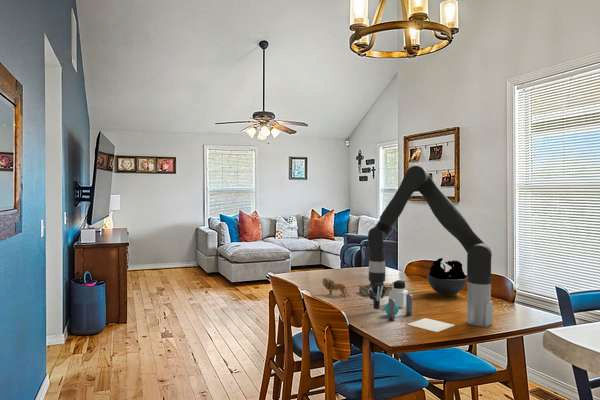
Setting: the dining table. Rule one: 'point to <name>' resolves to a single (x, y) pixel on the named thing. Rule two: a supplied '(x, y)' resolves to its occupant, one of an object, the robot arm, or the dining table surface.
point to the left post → (391, 310)
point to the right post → (409, 304)
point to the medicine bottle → (398, 293)
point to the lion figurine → (334, 286)
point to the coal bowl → (447, 278)
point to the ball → (388, 308)
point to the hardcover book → (364, 288)
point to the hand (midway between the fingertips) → (376, 308)
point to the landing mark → (431, 325)
